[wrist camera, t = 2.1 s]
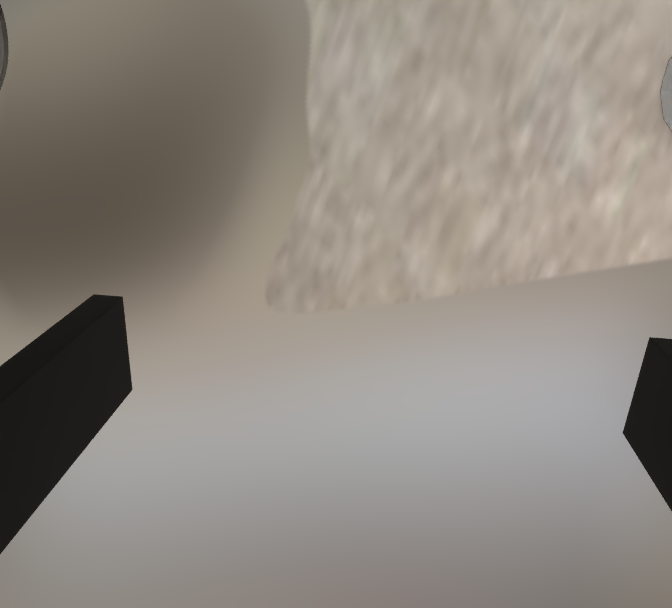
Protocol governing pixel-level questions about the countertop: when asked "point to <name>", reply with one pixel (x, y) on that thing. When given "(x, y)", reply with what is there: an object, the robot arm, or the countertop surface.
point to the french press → (667, 95)
